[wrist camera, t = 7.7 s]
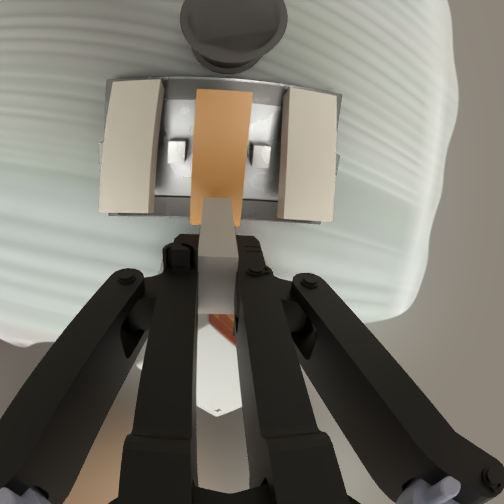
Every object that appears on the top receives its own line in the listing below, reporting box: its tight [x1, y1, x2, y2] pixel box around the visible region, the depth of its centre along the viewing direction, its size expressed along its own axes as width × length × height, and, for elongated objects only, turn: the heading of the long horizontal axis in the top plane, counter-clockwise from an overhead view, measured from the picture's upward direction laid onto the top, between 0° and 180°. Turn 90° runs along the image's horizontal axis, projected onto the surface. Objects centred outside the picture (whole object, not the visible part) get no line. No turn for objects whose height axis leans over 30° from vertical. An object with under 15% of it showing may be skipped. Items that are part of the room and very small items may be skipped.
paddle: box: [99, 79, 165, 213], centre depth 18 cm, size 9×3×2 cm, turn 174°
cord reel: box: [180, 0, 288, 74], centre depth 16 cm, size 6×6×8 cm
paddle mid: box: [190, 89, 253, 227], centre depth 19 cm, size 9×3×2 cm, turn 174°
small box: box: [136, 262, 242, 417], centre depth 24 cm, size 8×6×13 cm
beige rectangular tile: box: [277, 87, 337, 222], centre depth 20 cm, size 9×3×2 cm, turn 174°
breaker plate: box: [99, 76, 342, 224], centre depth 22 cm, size 11×18×4 cm, turn 84°
